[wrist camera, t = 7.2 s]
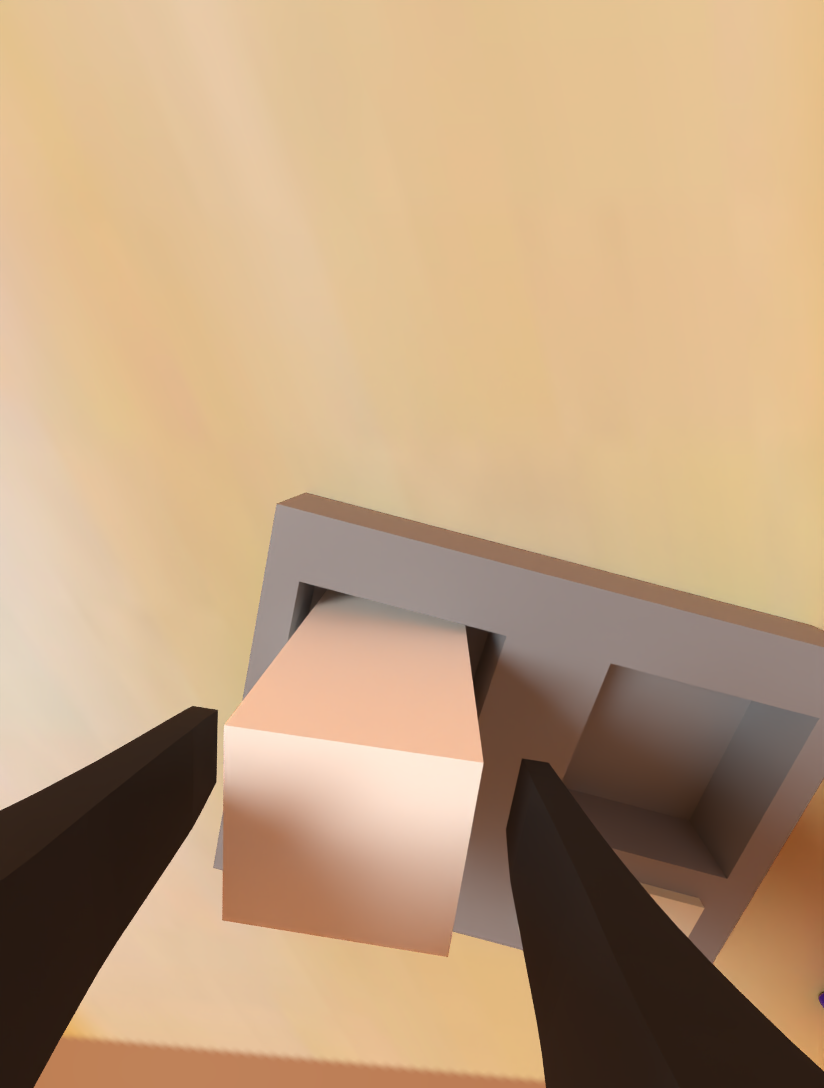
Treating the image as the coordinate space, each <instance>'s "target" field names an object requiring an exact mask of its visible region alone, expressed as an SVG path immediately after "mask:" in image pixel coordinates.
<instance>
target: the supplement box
mask: <svg viewBox="0 0 824 1088" xmlns="http://www.w3.org/2000/svg"><path fill="white" fill-rule="evenodd" d="M819 1001H820V1003H821V1005H822V1006H823V1008H824V992H823V993H822V994H820V995H819Z"/></svg>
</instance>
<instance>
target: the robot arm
mask: <svg viewBox="0 0 824 1088" xmlns="http://www.w3.org/2000/svg"><path fill="white" fill-rule="evenodd" d="M217 722H218V710H215V709H208V708H202V707H196V706H192V707H190V708H188V709H186V710H184V711H183V712H181V713H179V714H177V715H176V716H174V717H172V718H170V719H169V720H167V721H165V722H163V723H162V724H160V725H158V726H157V727H155V728H153V729H151V730H150V731H148V732H146V733H145V734H143V735H141V736H140V737H138V738H136V739H134V740H133V741H131V742H129V743H127V744H126V745H124V746H122V747H120V748H119V749H117V750H115V751H113V752H112V753H110V754H108V755H106V756H105V757H103V758H101V759H99V760H98V761H96V762H94V763H92V764H90V765H88V766H86V767H84V768H83V769H81V770H79V771H77V772H75V773H73V774H71V775H69V776H68V777H66V778H64V779H62V780H60V781H58V782H56V783H54V784H52V785H51V786H49V787H47V788H45V789H43V790H41V791H39V792H37V793H35V794H33V795H31V796H29V797H27V798H25V799H23V800H21V801H19V802H17V803H15V804H13V805H11V806H9V807H7V808H5V809H3V810H0V1088H34V1086H35V1084H36V1082H37V1080H38V1078H39V1077H40V1075H41V1073H42V1071H43V1069H44V1068H45V1066H46V1064H47V1062H48V1060H49V1058H50V1056H51V1055H52V1053H53V1051H54V1049H55V1047H56V1046H57V1044H58V1042H59V1040H60V1038H61V1037H62V1035H63V1033H64V1031H65V1030H66V1028H67V1026H68V1024H69V1023H70V1021H71V1019H72V1017H73V1016H74V1014H75V1012H76V1010H77V1008H78V1007H79V1005H80V1003H81V1001H82V1000H83V998H84V996H85V994H86V993H87V991H88V989H89V987H90V986H91V984H92V982H93V980H94V978H95V977H96V975H97V973H98V972H99V970H100V968H101V967H102V965H103V964H104V962H105V960H106V959H107V957H108V956H109V954H110V952H111V951H112V949H113V947H114V946H115V944H116V943H117V941H118V940H119V938H120V937H121V935H122V934H123V932H124V931H125V929H126V928H127V926H128V925H129V923H130V922H131V920H132V919H133V917H134V916H135V914H136V913H137V911H138V910H139V908H140V907H141V905H142V904H143V902H144V901H145V899H146V898H147V896H148V895H149V893H150V892H151V890H152V889H153V887H154V886H155V884H156V883H157V881H158V880H159V878H160V877H161V875H162V874H163V872H164V871H165V869H166V868H167V866H168V865H169V863H170V862H171V860H172V859H173V857H174V855H175V854H176V852H177V851H178V849H179V848H180V846H181V845H182V843H183V842H184V840H185V839H186V837H187V836H188V834H189V832H190V831H191V829H192V828H193V826H194V824H195V822H196V820H197V819H198V817H199V815H200V813H201V811H202V809H203V807H204V805H205V803H206V801H207V799H208V797H209V795H210V793H211V791H212V790H213V788H214V786H215V784H216V775H217ZM506 839H507V852H508V863H509V874H510V883H511V888H512V894H513V899H514V905H515V910H516V915H517V921H518V926H519V931H520V936H521V942H522V947H523V952H524V957H525V962H526V968H527V973H528V978H529V983H530V988H531V994H532V999H533V1004H534V1009H535V1014H536V1020H537V1026H538V1032H539V1039H540V1045H541V1051H542V1058H543V1067H544V1075H545V1083H546V1088H824V1071H823V1070H822V1069H821V1068H820V1067H818V1066H817V1065H816V1064H815V1063H814V1062H813V1061H812V1060H811V1059H810V1058H809V1057H808V1056H806V1055H805V1054H804V1053H803V1052H802V1051H801V1050H800V1049H799V1048H798V1047H797V1046H796V1045H795V1044H793V1043H792V1042H791V1041H790V1040H789V1039H788V1038H787V1037H786V1036H785V1035H784V1034H783V1033H782V1032H781V1031H780V1030H779V1029H778V1028H777V1027H776V1026H775V1025H774V1024H773V1023H772V1022H771V1021H770V1020H769V1019H767V1018H766V1017H765V1016H764V1015H763V1014H762V1013H761V1012H760V1011H759V1010H758V1009H757V1008H756V1007H755V1006H754V1005H753V1004H752V1003H751V1002H750V1001H749V1000H748V999H747V998H746V997H745V996H744V995H743V994H742V993H741V992H740V991H739V990H738V989H737V988H736V987H735V986H734V985H733V984H732V983H731V982H730V981H729V980H728V979H727V978H726V977H725V976H724V975H723V974H722V973H721V972H720V971H719V970H718V969H717V968H716V967H715V966H714V965H713V964H712V963H711V962H710V961H709V960H708V959H707V957H706V956H705V955H704V954H703V953H702V952H701V951H700V950H699V949H698V948H697V947H696V946H695V945H694V944H693V943H692V941H691V940H690V939H689V938H688V937H687V936H686V935H685V934H684V933H683V932H682V931H681V930H680V929H679V928H678V926H677V925H676V924H675V923H674V922H673V921H672V920H671V919H670V918H669V916H668V915H667V914H666V913H665V912H664V911H663V910H662V909H661V907H660V906H659V905H658V904H657V903H656V902H655V900H654V899H653V898H652V897H651V896H650V894H649V893H648V892H647V891H646V890H645V889H644V887H643V886H642V885H641V884H640V883H639V881H638V880H637V879H636V878H635V877H634V875H633V874H632V873H631V872H630V871H629V869H628V868H627V867H626V866H625V864H624V863H623V862H622V861H621V859H620V858H619V857H618V856H617V854H616V853H615V852H614V851H613V849H612V848H611V847H610V845H609V844H608V843H607V842H606V840H605V839H604V838H603V836H602V835H601V834H600V832H599V831H598V830H597V828H596V827H595V826H594V824H593V823H592V822H591V820H590V819H589V818H588V816H587V815H586V814H585V812H584V811H583V810H582V808H581V807H580V805H579V804H578V803H577V801H576V800H575V798H574V797H573V796H572V794H571V793H570V792H569V790H568V789H567V787H566V786H565V785H564V783H563V782H562V780H561V779H560V778H559V776H558V775H557V773H556V772H555V771H554V769H553V768H552V767H551V765H550V764H549V763H548V762H542V761H536V760H529V759H523V758H522V760H521V765H520V769H519V774H518V778H517V782H516V787H515V791H514V796H513V800H512V804H511V809H510V813H509V817H508V822H507V826H506Z"/></svg>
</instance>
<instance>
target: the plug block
mask: <svg viewBox="0 0 824 1088" xmlns="http://www.w3.org/2000/svg"><path fill="white" fill-rule="evenodd" d="M483 763H484V762H483V755H482V747H481V740H480V732H479V725H478V717H477V710H476V702H475V695H474V687H473V680H472V672H471V665H470V658H469V650H468V643H467V635H466V628H465V625H463V624H459V623H455V622H451V621H448V620H444V619H440V618H436V617H432V616H429V615H425V614H421V613H417V612H413V611H410V610H406V609H402V608H398V607H394V606H391V605H387V604H383V603H379V602H375V601H372V600H368V599H364V598H360V597H356V596H353V595H349V594H345V593H341V592H337V591H334V590H330V589H327V591H326V592H325V593H324V595H323V596H322V597H321V599H320V600H319V601H318V603H317V604H316V605H315V607H314V608H313V609H312V610H311V612H310V613H309V614H308V616H307V617H306V618H305V620H304V621H303V622H302V624H301V625H300V626H299V628H298V629H297V630H296V631H295V633H294V634H293V635H292V637H291V638H290V639H289V641H288V642H287V643H286V645H285V646H284V647H283V648H282V650H281V651H280V652H279V654H278V655H277V656H276V658H275V659H274V660H273V662H272V663H271V664H270V666H269V667H268V668H267V669H266V671H265V672H264V673H263V675H262V676H261V677H260V679H259V680H258V681H257V683H256V684H255V685H254V686H253V688H252V689H251V690H250V692H249V693H248V694H247V696H246V697H245V698H244V700H243V701H242V702H241V704H240V705H239V706H238V707H237V709H236V710H235V711H234V713H233V714H232V715H231V717H230V718H229V719H228V721H227V722H226V723H225V725H224V790H223V915H222V920H224V921H230V922H236V923H242V924H249V925H255V926H261V927H267V928H273V929H279V930H286V931H292V932H298V933H304V934H310V935H316V936H323V937H329V938H335V939H341V940H347V941H353V942H359V943H366V944H372V945H378V946H384V947H390V948H396V949H403V950H409V951H415V952H421V953H427V954H433V955H440V956H446V957H448V953H449V948H450V942H451V937H452V932H453V926H454V921H455V915H456V910H457V904H458V899H459V894H460V888H461V883H462V877H463V872H464V866H465V861H466V856H467V850H468V845H469V839H470V834H471V828H472V823H473V818H474V812H475V807H476V801H477V796H478V790H479V785H480V779H481V774H482V769H483Z"/></svg>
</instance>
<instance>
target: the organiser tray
mask: <svg viewBox="0 0 824 1088" xmlns="http://www.w3.org/2000/svg"><path fill="white" fill-rule="evenodd" d="M327 589H330V590H334V591H337V592H341V593H345V594H349V595H353V596H356V597H360V598H364V599H368V600H372V601H375V602H379V603H383V604H387V605H391V606H394V607H398V608H402V609H406V610H410V611H413V612H417V613H421V614H425V615H429V616H432V617H436V618H440V619H444V620H448V621H451V622H455V623H459V624H463V625H465V628H466V635H467V643H468V650H469V658H470V665H471V672H472V680H473V687H474V695H475V702H476V710H477V717H478V725H479V732H480V740H481V747H482V755H483V762H484V763H483V769H482V774H481V779H480V785H479V790H478V796H477V801H476V807H475V812H474V818H473V823H472V828H471V834H470V839H469V845H468V850H467V856H466V861H465V866H464V872H463V877H462V883H461V888H460V894H459V899H458V904H457V910H456V915H455V921H454V926H453V932H457V933H460V934H464V935H468V936H472V937H475V938H479V939H483V940H487V941H491V942H494V943H498V944H502V945H506V946H509V947H513V948H517V949H521V950H523V947H522V942H521V936H520V931H519V926H518V921H517V915H516V910H515V905H514V899H513V894H512V888H511V883H510V874H509V863H508V852H507V839H506V826H507V822H508V817H509V813H510V809H511V804H512V800H513V796H514V791H515V787H516V782H517V778H518V774H519V769H520V765H521V760H522V758H523V759H529V760H536V761H542V762H548V763H549V764H550V765H551V767H552V768H553V769H554V771H555V772H556V773H557V775H558V776H559V778H560V779H561V780H562V782H563V783H564V785H565V786H566V787H567V789H568V790H569V792H570V793H571V794H572V796H573V797H574V798H575V800H576V801H577V803H578V804H579V805H580V807H581V808H582V810H583V811H584V812H585V814H586V815H587V816H588V818H589V819H590V820H591V822H592V823H593V824H594V826H595V827H596V828H597V830H598V831H599V832H600V834H601V835H602V836H603V838H604V839H605V840H606V842H607V843H608V844H609V845H610V847H611V848H612V849H613V851H614V852H615V853H616V854H617V856H618V857H619V858H620V859H621V861H622V862H623V863H624V864H625V866H626V867H627V868H628V869H629V871H630V872H631V873H632V874H633V875H634V877H635V878H636V879H637V880H638V881H639V883H640V884H641V885H642V886H643V887H644V889H645V890H646V891H647V892H648V893H649V894H650V896H651V897H652V898H653V899H654V900H655V902H656V903H657V904H658V905H659V906H660V907H661V909H662V910H663V911H664V912H665V913H666V914H667V915H668V916H669V918H670V919H671V920H672V921H673V922H674V923H675V924H676V925H677V926H678V928H679V929H680V930H681V931H682V932H683V933H684V934H685V935H686V936H687V937H688V938H689V939H690V940H691V941H692V943H693V944H694V945H695V946H696V947H697V948H698V949H699V950H700V951H701V952H702V953H703V954H704V955H705V956H706V957H707V959H708V960H709V961H710V962H711V963H712V964H713V962H714V960H715V959H716V957H717V955H718V954H719V952H720V950H721V949H722V947H723V945H724V944H725V942H726V940H727V939H728V937H729V935H730V934H731V932H732V930H733V929H734V927H735V925H736V924H737V922H738V920H739V919H740V917H741V915H742V914H743V912H744V910H745V909H746V907H747V905H748V904H749V902H750V900H751V899H752V897H753V895H754V894H755V892H756V890H757V889H758V887H759V885H760V884H761V882H762V880H763V879H764V877H765V875H766V874H767V872H768V870H769V869H770V867H771V865H772V864H773V862H774V860H775V859H776V857H777V855H778V854H779V852H780V850H781V849H782V847H783V845H784V844H785V842H786V840H787V839H788V837H789V835H790V834H791V832H792V830H793V829H794V827H795V825H796V824H797V822H798V820H799V819H800V817H801V815H802V814H803V812H804V810H805V809H806V807H807V805H808V804H809V802H810V800H811V799H812V797H813V795H814V794H815V792H816V790H817V789H818V787H819V785H820V784H821V782H822V780H823V779H824V631H822V630H820V629H818V628H816V627H814V626H812V625H808V624H804V623H800V622H796V621H792V620H789V619H785V618H781V617H777V616H773V615H770V614H766V613H762V612H758V611H754V610H751V609H747V608H743V607H739V606H735V605H731V604H728V603H724V602H720V601H716V600H712V599H709V598H705V597H701V596H697V595H693V594H690V593H686V592H682V591H678V590H674V589H670V588H667V587H663V586H659V585H655V584H651V583H648V582H644V581H640V580H636V579H632V578H629V577H625V576H621V575H617V574H613V573H609V572H606V571H602V570H598V569H594V568H590V567H587V566H583V565H579V564H575V563H571V562H568V561H564V560H560V559H556V558H552V557H548V556H545V555H541V554H537V553H533V552H529V551H526V550H522V549H518V548H514V547H510V546H507V545H503V544H499V543H495V542H491V541H487V540H484V539H480V538H476V537H472V536H468V535H465V534H461V533H457V532H453V531H449V530H446V529H442V528H438V527H434V526H430V525H426V524H423V523H419V522H415V521H411V520H407V519H404V518H400V517H396V516H392V515H388V514H385V513H381V512H377V511H373V510H369V509H365V508H362V507H358V506H354V505H350V504H346V503H343V502H339V501H335V500H331V499H327V498H324V497H320V496H316V495H312V494H308V493H304V494H301V495H298V496H296V497H293V498H290V499H288V500H285V501H283V502H280V503H277V505H276V511H275V517H274V522H273V528H272V534H271V540H270V545H269V551H268V557H267V562H266V568H265V574H264V580H263V585H262V591H261V597H260V603H259V608H258V614H257V620H256V626H255V631H254V637H253V643H252V649H251V654H250V660H249V666H248V671H247V677H246V683H245V689H244V694H243V700H244V698H245V697H246V696H247V694H248V693H249V692H250V690H251V689H252V688H253V686H254V685H255V684H256V683H257V681H258V680H259V679H260V677H261V676H262V675H263V673H264V672H265V671H266V669H267V668H268V667H269V666H270V664H271V663H272V662H273V660H274V659H275V658H276V656H277V655H278V654H279V652H280V651H281V650H282V648H283V647H284V646H285V645H286V643H287V642H288V641H289V639H290V638H291V637H292V635H293V634H294V633H295V631H296V630H297V629H298V628H299V626H300V625H301V624H302V622H303V621H304V620H305V618H306V617H307V616H308V614H309V613H310V612H311V610H312V609H313V608H314V607H315V605H316V604H317V603H318V601H319V600H320V599H321V597H322V596H323V595H324V593H325V592H326V591H327ZM243 700H242V701H243ZM213 868H216V869H220V870H223V815H222V821H221V826H220V832H219V838H218V844H217V849H216V855H215V861H214V867H213Z"/></svg>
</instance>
